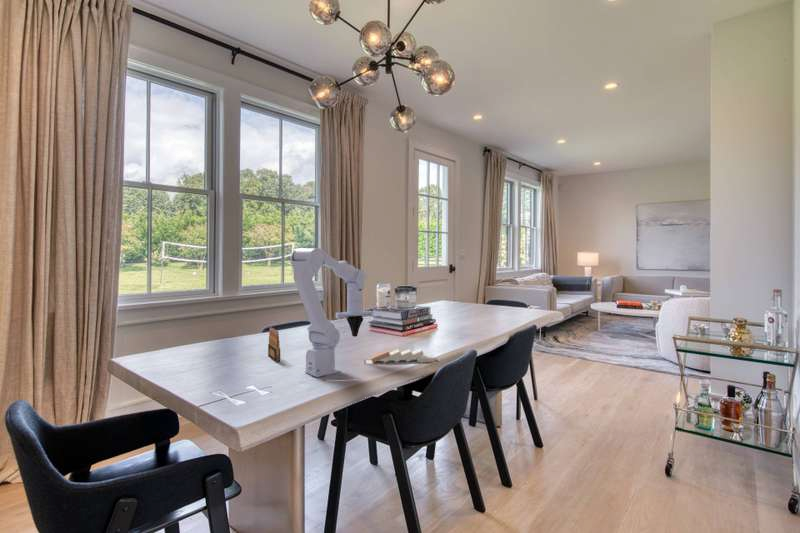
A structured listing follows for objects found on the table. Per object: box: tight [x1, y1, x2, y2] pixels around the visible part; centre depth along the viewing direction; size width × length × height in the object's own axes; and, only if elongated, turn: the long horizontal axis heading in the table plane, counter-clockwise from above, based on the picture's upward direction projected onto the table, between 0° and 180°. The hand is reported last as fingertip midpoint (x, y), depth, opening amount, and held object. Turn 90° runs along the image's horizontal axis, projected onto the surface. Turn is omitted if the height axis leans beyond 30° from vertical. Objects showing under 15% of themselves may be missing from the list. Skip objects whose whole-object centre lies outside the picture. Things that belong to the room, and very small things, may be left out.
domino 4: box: [415, 354, 437, 363], centre depth 157 cm, size 2×4×7 cm
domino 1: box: [382, 348, 401, 363], centre depth 155 cm, size 2×4×7 cm
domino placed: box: [370, 349, 390, 363], centre depth 154 cm, size 2×4×7 cm
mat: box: [363, 358, 421, 366], centre depth 155 cm, size 21×7×1 cm, turn 98°
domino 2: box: [394, 348, 412, 362], centre depth 156 cm, size 2×4×7 cm
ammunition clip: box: [267, 326, 281, 363], centre depth 159 cm, size 11×2×12 cm, turn 33°
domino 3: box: [405, 348, 425, 362], centre depth 156 cm, size 2×4×7 cm
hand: (354, 336), depth 155 cm, fingers closed
